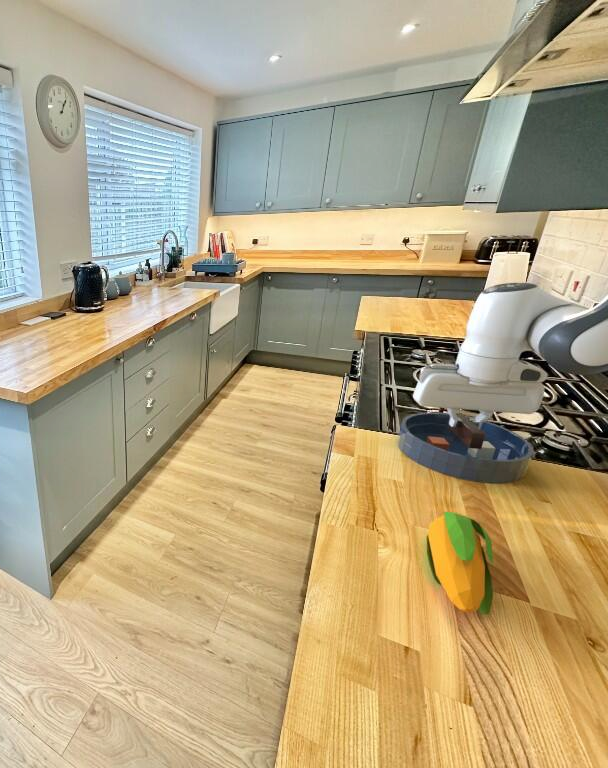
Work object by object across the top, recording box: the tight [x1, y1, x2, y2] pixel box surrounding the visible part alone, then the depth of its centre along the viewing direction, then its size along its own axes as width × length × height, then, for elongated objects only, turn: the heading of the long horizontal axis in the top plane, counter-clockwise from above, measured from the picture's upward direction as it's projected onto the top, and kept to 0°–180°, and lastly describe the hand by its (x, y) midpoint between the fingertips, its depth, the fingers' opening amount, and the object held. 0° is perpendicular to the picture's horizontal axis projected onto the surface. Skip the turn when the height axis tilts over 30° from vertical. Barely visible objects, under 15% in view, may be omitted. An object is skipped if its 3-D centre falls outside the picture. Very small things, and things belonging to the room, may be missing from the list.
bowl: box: [396, 412, 535, 484], centre depth 90 cm, size 21×21×6 cm
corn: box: [426, 511, 494, 616], centre depth 60 cm, size 7×8×20 cm
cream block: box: [468, 441, 496, 460], centre depth 89 cm, size 3×3×3 cm
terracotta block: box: [426, 436, 450, 451], centre depth 91 cm, size 3×3×3 cm
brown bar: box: [447, 412, 485, 449], centre depth 88 cm, size 10×2×4 cm, turn 163°
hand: (464, 426), depth 88 cm, fingers closed on brown bar, 2 cm apart
